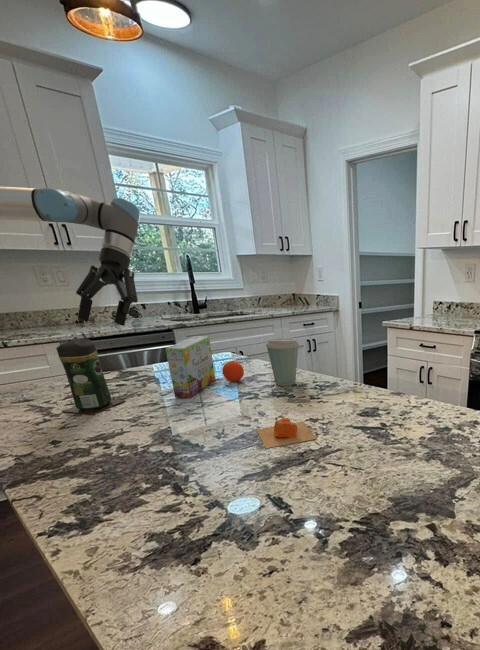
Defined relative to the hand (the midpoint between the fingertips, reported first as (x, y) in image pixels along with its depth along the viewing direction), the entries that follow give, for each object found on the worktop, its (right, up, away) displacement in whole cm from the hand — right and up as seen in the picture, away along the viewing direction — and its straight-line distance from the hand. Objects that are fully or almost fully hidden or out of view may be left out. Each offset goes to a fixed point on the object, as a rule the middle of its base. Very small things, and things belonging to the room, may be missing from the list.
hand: (100, 322), depth 123 cm
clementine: (+32, -14, +21) cm, 40 cm away
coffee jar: (0, -25, -3) cm, 25 cm away
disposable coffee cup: (+51, -15, +18) cm, 56 cm away
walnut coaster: (0, -25, -3) cm, 25 cm away
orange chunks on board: (+60, -34, -22) cm, 72 cm away
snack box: (+22, -18, +14) cm, 32 cm away
